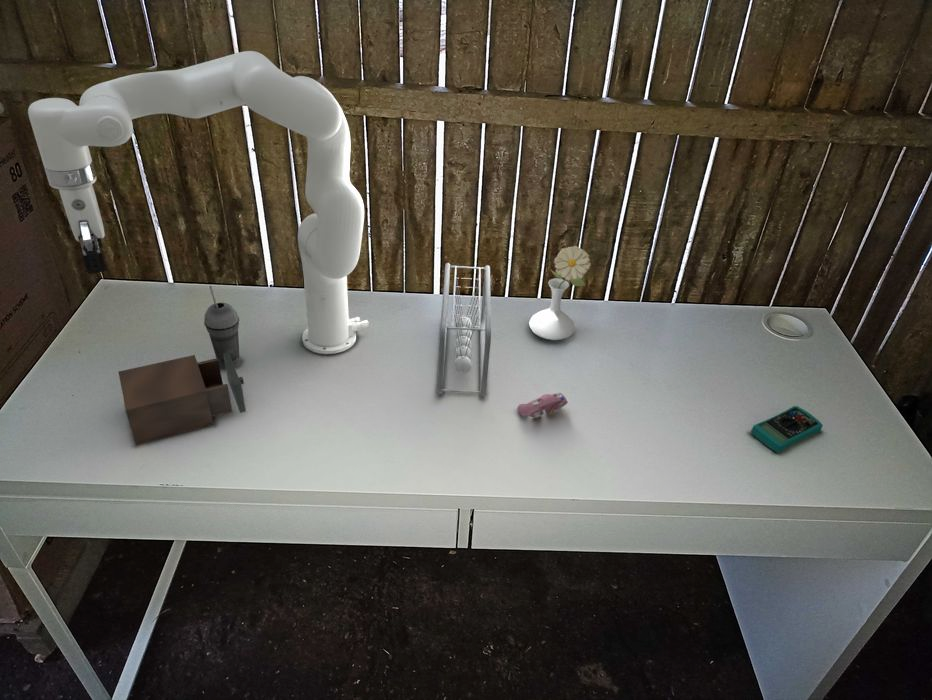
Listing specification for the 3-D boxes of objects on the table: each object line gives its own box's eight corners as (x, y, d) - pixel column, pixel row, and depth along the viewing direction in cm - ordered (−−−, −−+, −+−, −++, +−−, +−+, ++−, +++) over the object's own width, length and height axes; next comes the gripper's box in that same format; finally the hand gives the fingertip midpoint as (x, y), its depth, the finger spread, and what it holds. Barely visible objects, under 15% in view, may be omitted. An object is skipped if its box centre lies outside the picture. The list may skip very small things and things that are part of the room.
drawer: (239, 378, 156) (234, 351, 152) (251, 410, 148) (247, 382, 144) (167, 395, 150) (161, 367, 146) (176, 429, 142) (170, 401, 138)
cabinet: (201, 388, 154) (194, 354, 148) (213, 425, 145) (206, 390, 140) (128, 406, 148) (118, 371, 143) (136, 445, 139) (125, 409, 134)
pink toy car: (523, 427, 152) (534, 414, 146) (514, 408, 154) (524, 394, 148) (561, 414, 156) (574, 401, 150) (552, 396, 158) (564, 382, 152)
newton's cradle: (442, 321, 180) (445, 259, 169) (484, 323, 180) (490, 261, 170) (436, 398, 156) (439, 331, 145) (485, 401, 156) (491, 334, 145)
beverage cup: (237, 375, 158) (224, 298, 146) (206, 370, 159) (190, 293, 147) (251, 356, 164) (240, 281, 152) (221, 351, 165) (208, 276, 153)
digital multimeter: (821, 432, 154) (826, 422, 152) (776, 455, 147) (781, 445, 146) (793, 412, 159) (797, 402, 157) (748, 434, 152) (752, 423, 150)
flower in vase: (519, 330, 178) (530, 241, 164) (545, 313, 186) (558, 225, 171) (562, 353, 172) (578, 261, 157) (588, 333, 179) (605, 244, 164)
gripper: (98, 189, 120) (121, 278, 131) (91, 153, 133) (112, 236, 143) (48, 196, 118) (76, 285, 128) (45, 157, 130) (70, 242, 140)
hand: (95, 259), depth 135 cm, fingers open, 9 cm apart
